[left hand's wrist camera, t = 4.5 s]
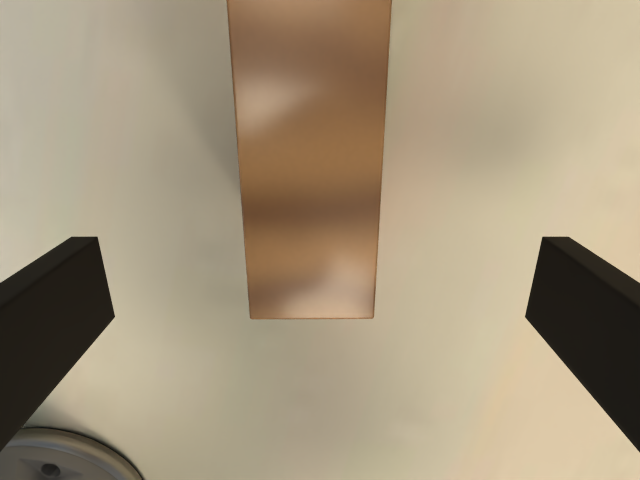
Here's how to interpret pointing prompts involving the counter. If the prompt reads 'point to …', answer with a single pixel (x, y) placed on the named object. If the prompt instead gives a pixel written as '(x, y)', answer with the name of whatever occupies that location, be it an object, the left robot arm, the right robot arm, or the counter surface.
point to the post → (310, 151)
